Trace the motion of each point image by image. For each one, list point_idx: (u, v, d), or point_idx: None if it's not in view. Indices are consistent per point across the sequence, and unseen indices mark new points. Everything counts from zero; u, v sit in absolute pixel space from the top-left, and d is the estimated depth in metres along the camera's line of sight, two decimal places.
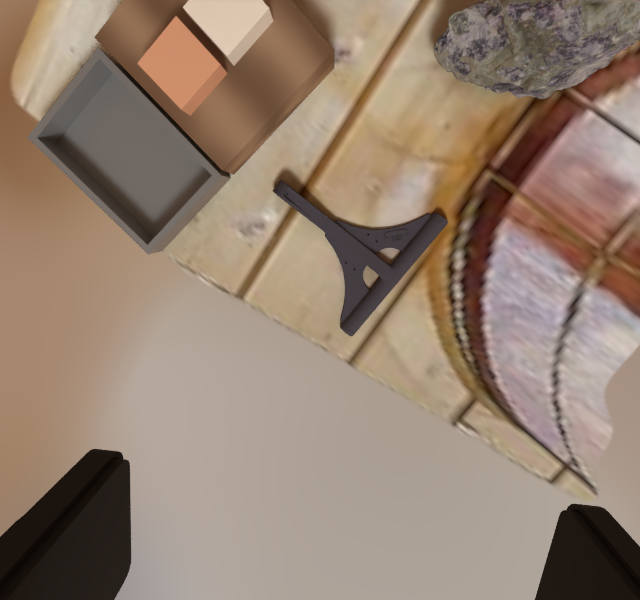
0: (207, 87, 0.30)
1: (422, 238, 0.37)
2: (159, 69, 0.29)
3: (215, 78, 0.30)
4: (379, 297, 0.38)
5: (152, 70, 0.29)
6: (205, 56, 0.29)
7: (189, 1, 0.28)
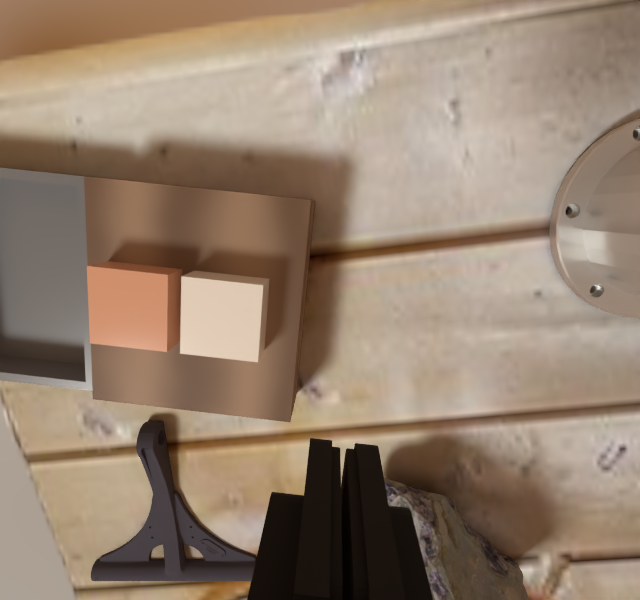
0: None
1: (228, 575, 0.32)
2: (103, 293, 0.22)
3: None
4: (148, 579, 0.33)
5: (95, 287, 0.21)
6: (160, 332, 0.22)
7: (193, 279, 0.21)
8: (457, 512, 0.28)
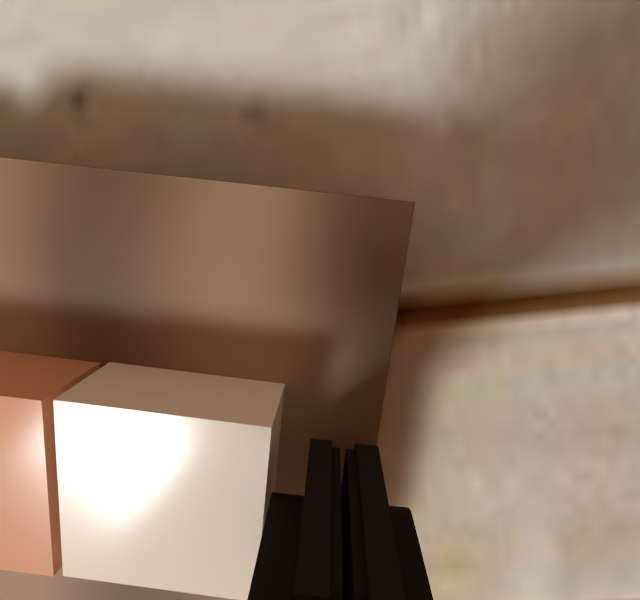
0: None
1: None
2: None
3: None
4: None
5: None
6: (32, 532, 0.09)
7: (84, 407, 0.08)
8: None
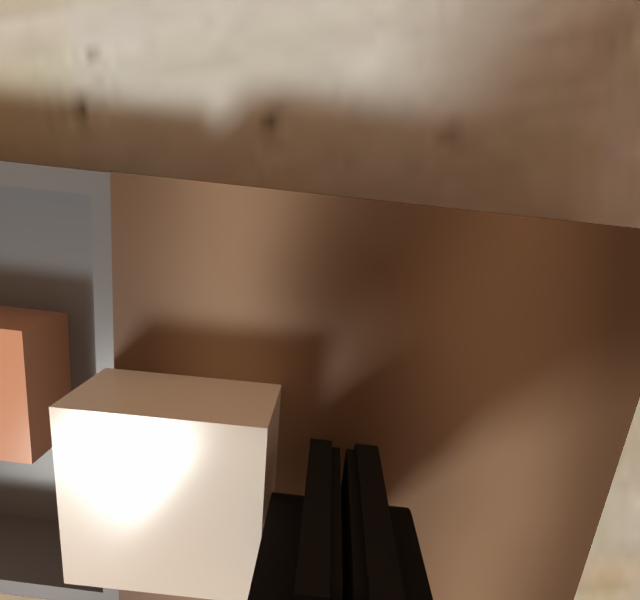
0: None
1: None
2: None
3: None
4: None
5: None
6: None
7: (80, 413, 0.08)
8: None
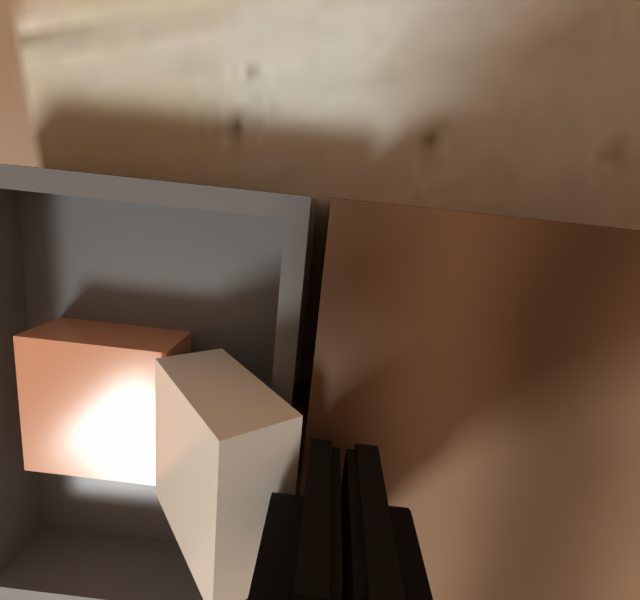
0: None
1: None
2: None
3: None
4: None
5: None
6: None
7: (162, 369, 0.11)
8: None
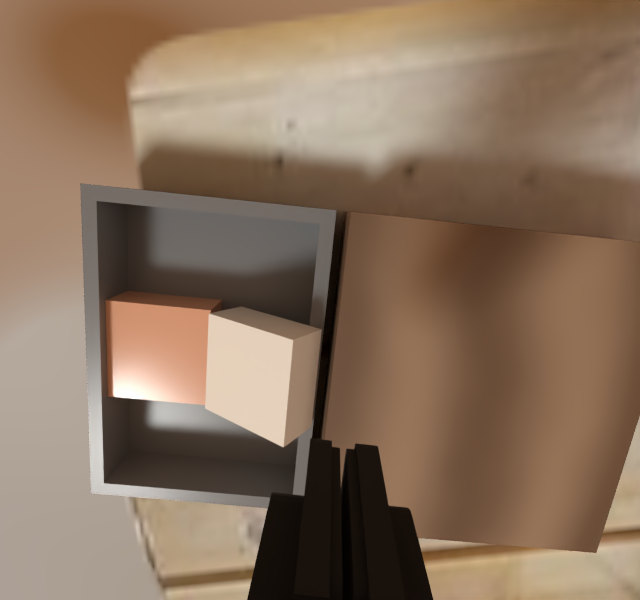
0: None
1: None
2: None
3: None
4: None
5: None
6: None
7: (219, 318, 0.16)
8: None
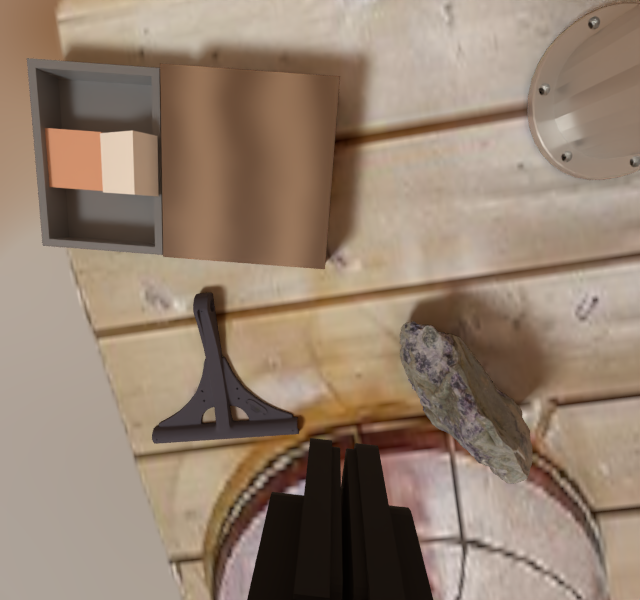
0: (80, 189, 0.33)
1: (270, 428, 0.38)
2: None
3: None
4: (201, 438, 0.38)
5: None
6: None
7: (104, 134, 0.30)
8: (470, 351, 0.34)
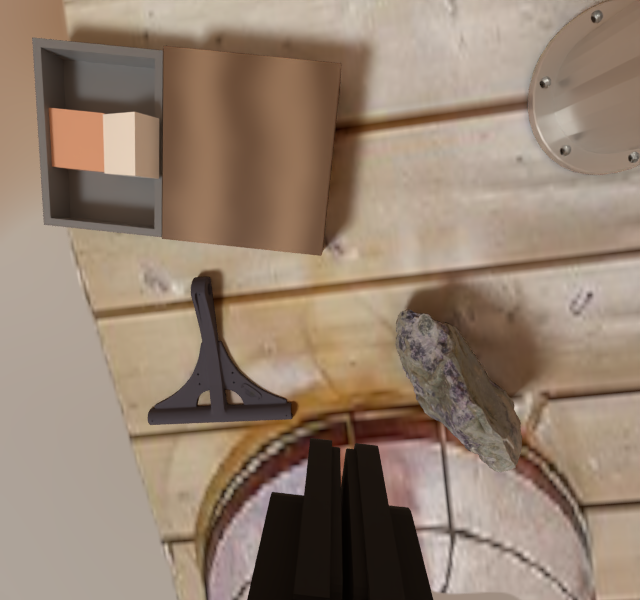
0: None
1: (264, 413, 0.38)
2: None
3: None
4: (196, 420, 0.39)
5: None
6: None
7: (107, 115, 0.31)
8: (465, 342, 0.34)
